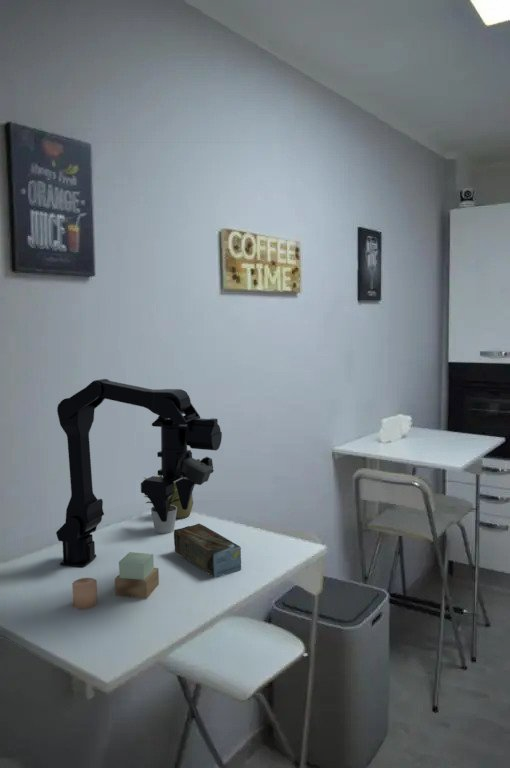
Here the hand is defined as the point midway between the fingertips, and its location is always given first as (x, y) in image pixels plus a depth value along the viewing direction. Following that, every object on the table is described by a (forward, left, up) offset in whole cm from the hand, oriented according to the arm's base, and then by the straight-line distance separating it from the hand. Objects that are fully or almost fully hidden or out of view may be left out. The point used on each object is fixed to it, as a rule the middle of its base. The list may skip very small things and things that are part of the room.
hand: (174, 515), depth 138 cm
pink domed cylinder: (-14, -17, -14) cm, 26 cm away
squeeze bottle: (-13, +40, -14) cm, 44 cm away
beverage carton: (+5, +9, -14) cm, 18 cm away
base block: (-6, -9, -14) cm, 18 cm away
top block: (-6, -9, -10) cm, 15 cm away
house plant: (-12, +28, -14) cm, 33 cm away
